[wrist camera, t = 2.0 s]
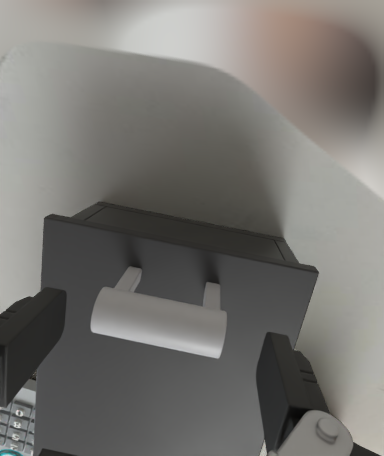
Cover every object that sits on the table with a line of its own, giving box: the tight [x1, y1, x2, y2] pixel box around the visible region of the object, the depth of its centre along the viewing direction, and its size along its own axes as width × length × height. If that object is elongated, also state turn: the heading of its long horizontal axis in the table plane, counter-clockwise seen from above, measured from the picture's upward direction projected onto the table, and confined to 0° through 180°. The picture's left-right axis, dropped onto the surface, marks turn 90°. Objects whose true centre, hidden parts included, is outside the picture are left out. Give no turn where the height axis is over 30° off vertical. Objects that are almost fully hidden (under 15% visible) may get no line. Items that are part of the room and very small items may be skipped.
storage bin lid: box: [33, 214, 319, 456], centre depth 16 cm, size 18×14×5 cm
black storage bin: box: [71, 202, 299, 263], centre depth 22 cm, size 17×14×7 cm
